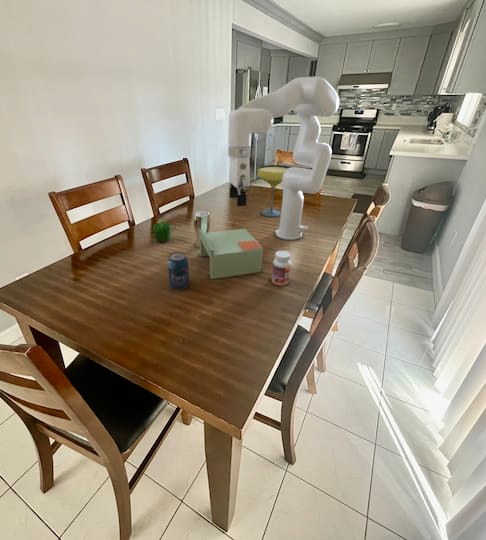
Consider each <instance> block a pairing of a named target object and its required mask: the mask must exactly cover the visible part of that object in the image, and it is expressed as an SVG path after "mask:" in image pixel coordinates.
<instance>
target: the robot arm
mask: <svg viewBox="0 0 486 540" xmlns="http://www.w3.org/2000/svg"><path fill="white" fill-rule="evenodd" d="M339 104H340V98H339V94H338V93H337V92H336V90H335V89H334V87H333V86H332V85H331V84H330V82H328V81H327V80H326V79H325V78H324V77H322V76H301V77H296V78H294V79H292V80H290V81H289V82H288V83H286V84H284V85H283V86H281V87H280V88H279V89H277V90H275V91H273V92H269V93H267V94H264V95H261V96H258V97H256V98H253V99H251V100H249V101H247V102H246V103H244V104H242V105H241V106H239V107H238V108H237V109H233V110H230V111H229V113H228V133H227V134H228V137H227V138H228V139H227V141H228V142H227V143H228V144H227V157H228V158H229V169H228V170H229V171H228V173H229V174H228V175H229V176H228V177H229V178H228V179H229V198H230V199H236V206H237V207H245V206H247V195H248V188H249V187H250V186H251V185H250V183H251V182H250V180H251V177H250V175H251V173H250V172H251V167H250V164H251V163H250V157H251V149H252V135H253V134H255V135H256V134H257V135H264V134H266V133H268V132H269V131H270V130H271V129H272V127H273V126H274V119H276V118H281V117H284V116H286V115H288V114H289V113H290V112H292V111H293V110H295V111H296V114H297V117H298V121H299V132H298V135H297V138H296V142H295V145H294V150H293V153H292V161H293V162H294V163H295V164H296V165H301V166H307V167H312V169H308V168H303V167H297V166H296V167H295V166H292V167H290V168H288V169H287V170H286V171H285V172H284V174H283V178H282V183H281V184H282V201H281V210H280V213H281V214H280V218H279V227H278V228H277V229H276V230H275V232H274V233H275V236H276V237H278V238H279V239H282V240H287V241H296V240H299V239H301V238H302V237H303V233H302V232H305V231H309V229H310V228H309V226H304V224H302V225H301V221H302V215H303V208H304V203H305V202H304V201H305V200H304V195H303V193H304V194H309V195H316V194H317V193H319V192H320V190H321V189H322V186H323V184H324V181H325V179H326V176H327V172H328V170H329V166H330V163H331V158H332V148H331V146H330V145H329V144H328V143H325V142H319V138H320V134H321V125H320V121H319V120H318V118H329V117H331V116H333V115H335V113H337V111H338V109H339V106H340V105H339Z"/></svg>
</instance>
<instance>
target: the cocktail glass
mask: <svg viewBox="0 0 486 540" xmlns="http://www.w3.org/2000/svg"><path fill="white" fill-rule="evenodd" d="M288 168H291V167H290V166H285V165H280V164H279V165H275V164H271V165H270V164H269V165H261V166H259V167H258V168H257V175H258V178H260V179H261V180H262V181H264V182H266V183H268V184H269V185H270V187H271V188H272V193H271V203H270V208H269V209H264V210H263V211H262V210H261V215H262V216H265V217H268V218H276V217H279V216H281V211H278V210H274V209H273V205H274V204H273V203H274V193H275V192H274V190H275V188H276V187H277V186H278V185H281V184H283V183H282V178H283V174H284V172H285V171H286V170H287V169H288Z"/></svg>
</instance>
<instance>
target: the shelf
mask: <svg viewBox="0 0 486 540" xmlns="http://www.w3.org/2000/svg"><path fill="white" fill-rule="evenodd" d="M199 237H200V248H199V255H200V257H208V256H209V276H210V277H209V278H210V279H211V280H215V279H221V278H222V279H223V278H229V277H235V276H242V275H250V274H256V273H262V270H263V269H262V267H263V256H264V248H263V247H262V246H261V245H260V244H259V242H258V241H257V240H256V239H255V238H254V236H253V235H252V234H251V233H250V232H249V231H248V230H247V229H246V228H238V229H227V230H219V231H218V230H217V231H211V232H210V231H209V233H204V232H203V230H202V229H199Z"/></svg>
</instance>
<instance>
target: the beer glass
mask: <svg viewBox="0 0 486 540" xmlns="http://www.w3.org/2000/svg"><path fill="white" fill-rule="evenodd" d="M210 221H211V220H210V213H209V212H208V211H202V210H201V211H196V212H194V213H193V229H194V233H195V238H196V241H195V247H197V248H199V249H200V237H199V229H202V230H203V232H204V233H209V232H210V228H211V227H210V226H211V222H210Z"/></svg>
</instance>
